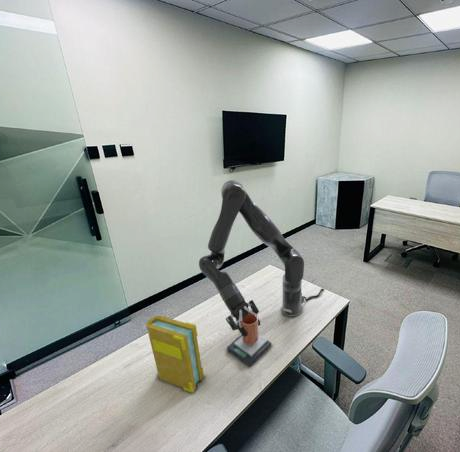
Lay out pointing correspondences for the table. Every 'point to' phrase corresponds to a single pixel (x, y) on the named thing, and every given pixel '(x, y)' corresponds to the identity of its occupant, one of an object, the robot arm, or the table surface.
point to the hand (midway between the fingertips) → (252, 330)
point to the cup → (250, 328)
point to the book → (175, 351)
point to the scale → (249, 349)
